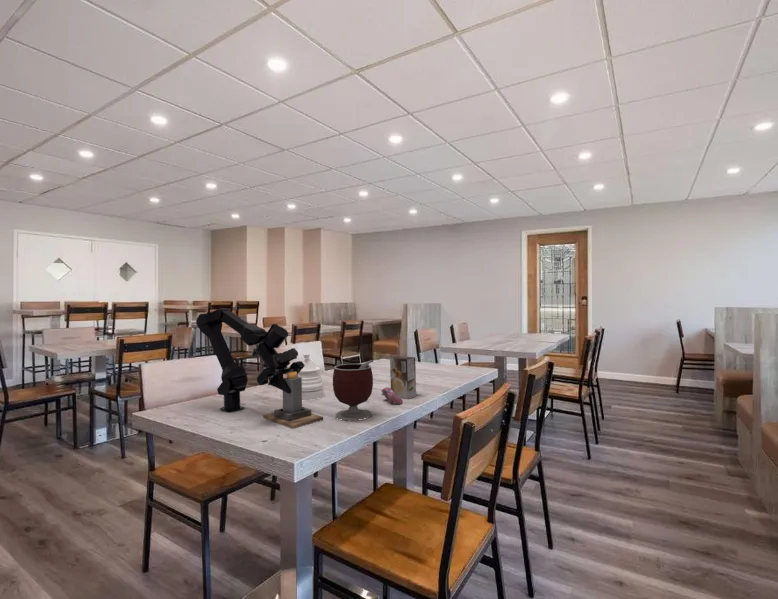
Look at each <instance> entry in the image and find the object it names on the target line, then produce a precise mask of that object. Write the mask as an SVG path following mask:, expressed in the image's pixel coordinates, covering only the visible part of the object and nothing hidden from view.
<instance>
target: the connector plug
mask: <svg viewBox="0 0 778 599" xmlns="http://www.w3.org/2000/svg"><path fill="white" fill-rule="evenodd" d="M283 378H284V380H285V381H286V383H287V384H288V386H289V388H290V389H291V393H290V394H288V393H286V392H284V391H283V390H282V408H283V412H286V413H289V414H291V413H295V412H299V411H302V407H303V401H302V377H297V372H296V371H291V372H287V376H286V377H283Z"/></svg>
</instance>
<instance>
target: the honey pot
mask: <svg viewBox="0 0 778 599" xmlns="http://www.w3.org/2000/svg"><path fill="white" fill-rule="evenodd" d="M302 362H303V364H304V365H305V366H304V367H303V369H302V370H301V371H300V372H299V373H298V377H302V400H309V401H311V400H310V399H316V400H318V399H317V398H320V397H323V396H325V391H324V390H325V388H324V387H325V386H324V382H323V378H322V375H321V374H320V371H321V367H320V366H317V364H316V362H315V361H314V360H313V359H312V357H311V356H310V353H304V354H303V359H302ZM323 398H324V397H323ZM320 399H321V398H320Z"/></svg>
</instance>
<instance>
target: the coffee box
mask: <svg viewBox="0 0 778 599" xmlns="http://www.w3.org/2000/svg"><path fill="white" fill-rule="evenodd" d="M389 368H390V369H389V370H390V371H389V372H390V388H391V389H392V390H393V391H394V392H395V394H396V395H397V396H399V397H400V398H401V399H407V400H408V399H411V398H415V397H417V379H416V377H417V376H416V374H417V373H416V357H414V356H403V355H402V356H401V355H395V356H392V357H389Z"/></svg>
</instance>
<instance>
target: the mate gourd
mask: <svg viewBox="0 0 778 599" xmlns="http://www.w3.org/2000/svg"><path fill="white" fill-rule="evenodd" d="M371 363H374V360H373V359H370V360H368V361H366V362H364V363H345V364H344V363H342V364H338V365H335V366H334V367H333V373H332V388H333V394H334V397H336V398H335V399H337V401H338V402H340V403H341V404H345V405H347V406H348V409H344V410H341V411H338V412H336V413H335V418H336V419H337V418H338V419H337V420H339V419H342V420H341V421H343V420H359V419H364V418H367V417H370V416H372V412H371V411H369V410H366V409H361V408H359V407H358V406H359V405H361V404H364V403H365V402H367V401H368V400H369V398H371V395H372V392H373V387H374V375H373V371H372V370H373V369H372V366H371V365H370V364H371ZM370 418H371V417H370Z"/></svg>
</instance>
